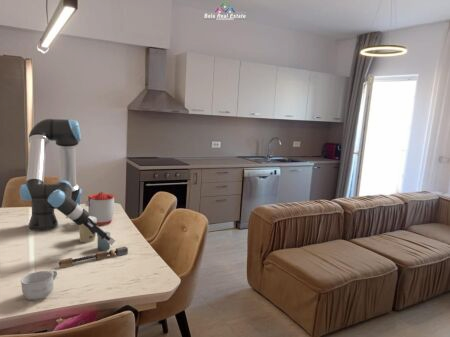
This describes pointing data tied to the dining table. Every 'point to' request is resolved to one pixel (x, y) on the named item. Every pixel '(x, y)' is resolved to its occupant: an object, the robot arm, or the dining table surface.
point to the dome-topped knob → (103, 243)
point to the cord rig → (94, 256)
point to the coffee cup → (87, 232)
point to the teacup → (38, 284)
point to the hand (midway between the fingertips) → (108, 238)
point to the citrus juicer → (101, 207)
